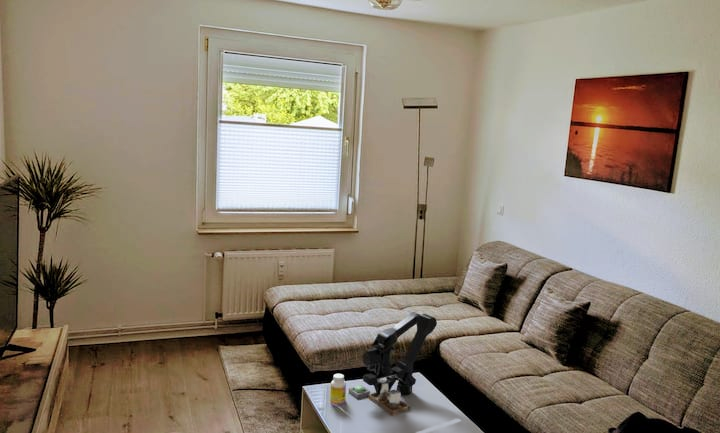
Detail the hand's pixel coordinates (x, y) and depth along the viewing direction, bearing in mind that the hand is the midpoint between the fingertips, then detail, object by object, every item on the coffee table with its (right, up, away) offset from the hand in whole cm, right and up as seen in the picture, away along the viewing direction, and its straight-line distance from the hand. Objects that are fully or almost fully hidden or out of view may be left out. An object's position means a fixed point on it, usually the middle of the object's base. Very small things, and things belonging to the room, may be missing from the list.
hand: (382, 393), depth 251 cm
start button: (-10, -2, +5) cm, 12 cm away
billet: (0, -2, 0) cm, 2 cm away
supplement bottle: (-20, -4, -2) cm, 20 cm away
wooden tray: (+2, -4, -3) cm, 6 cm away
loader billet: (+5, -4, -7) cm, 9 cm away
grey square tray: (-11, -3, +5) cm, 12 cm away
